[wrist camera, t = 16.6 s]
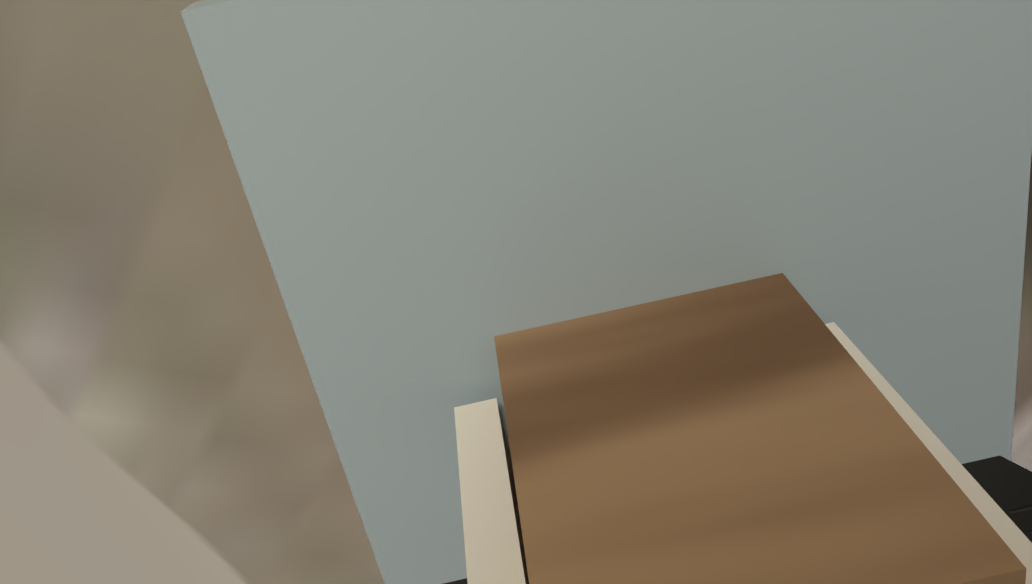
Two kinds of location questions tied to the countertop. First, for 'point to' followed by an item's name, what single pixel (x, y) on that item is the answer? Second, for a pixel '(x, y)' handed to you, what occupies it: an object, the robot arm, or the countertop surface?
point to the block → (725, 453)
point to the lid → (619, 197)
